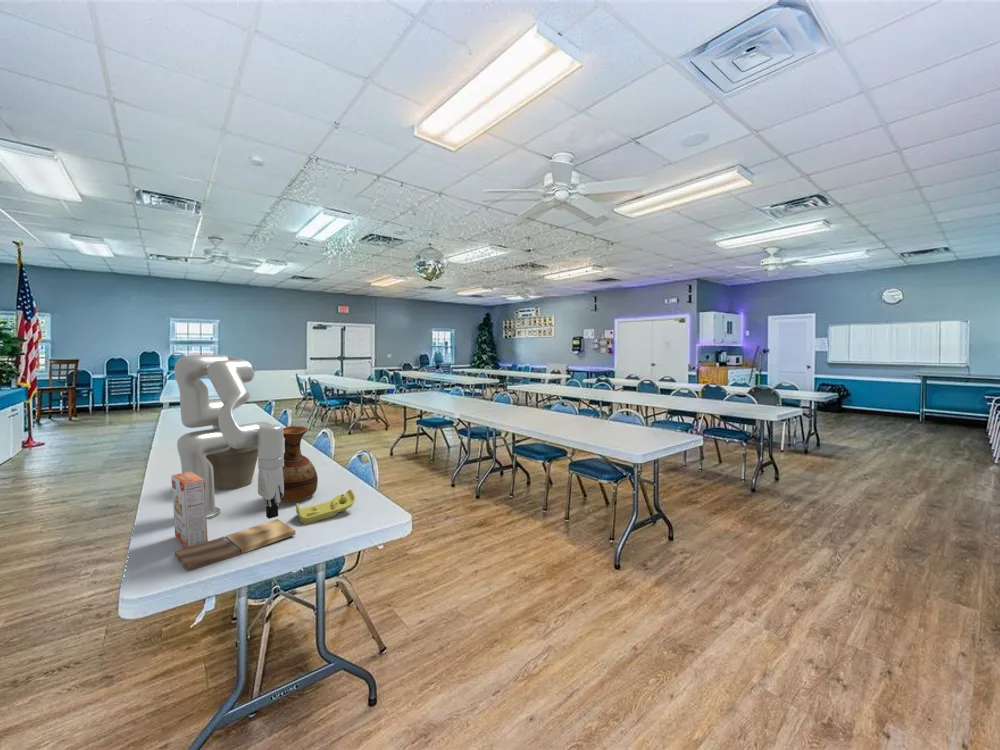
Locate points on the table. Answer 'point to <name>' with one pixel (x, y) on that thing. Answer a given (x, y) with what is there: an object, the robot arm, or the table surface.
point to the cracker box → (189, 508)
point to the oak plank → (260, 535)
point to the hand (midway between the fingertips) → (272, 516)
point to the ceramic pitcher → (297, 467)
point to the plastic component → (326, 508)
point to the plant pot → (234, 467)
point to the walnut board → (206, 553)
